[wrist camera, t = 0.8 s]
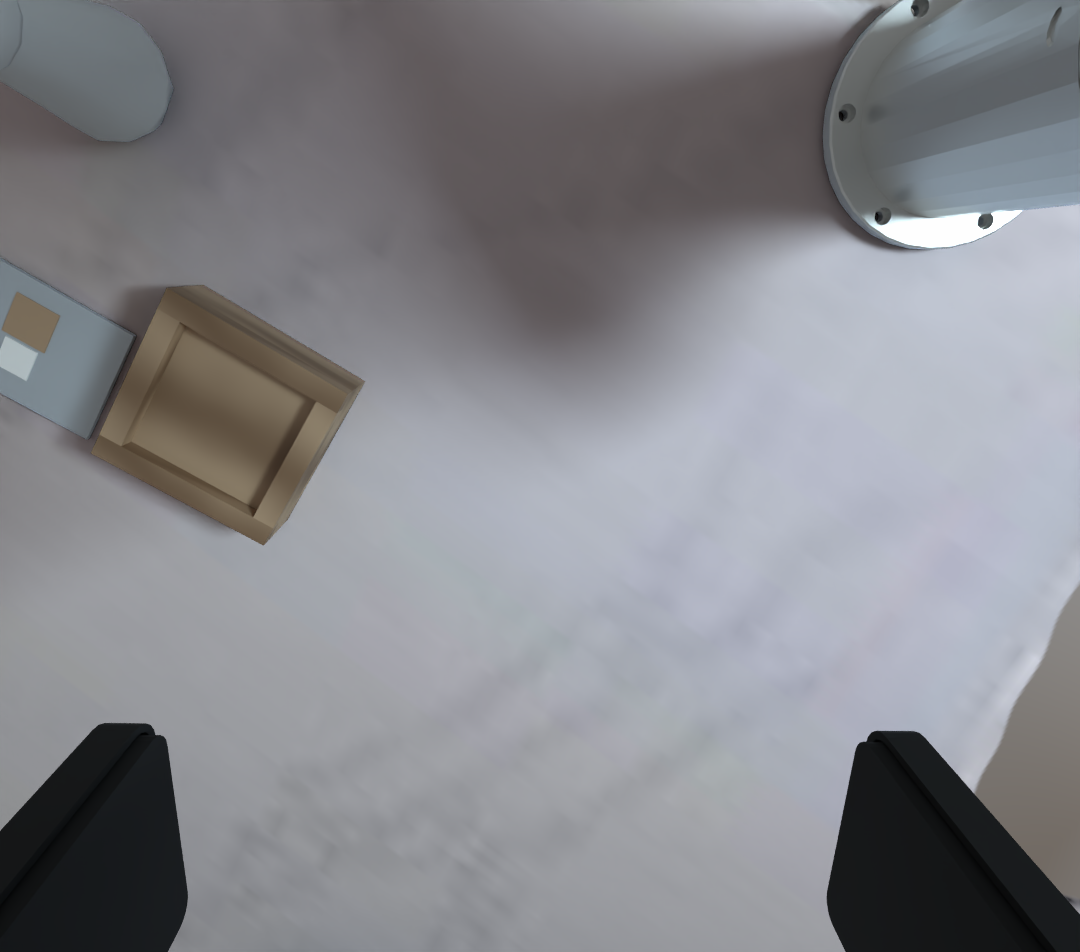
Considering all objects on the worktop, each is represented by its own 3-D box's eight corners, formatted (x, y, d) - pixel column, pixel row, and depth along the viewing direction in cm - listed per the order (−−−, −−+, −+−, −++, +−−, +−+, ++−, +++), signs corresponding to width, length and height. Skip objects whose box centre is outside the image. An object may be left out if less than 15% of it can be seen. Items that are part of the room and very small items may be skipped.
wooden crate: (203, 284, 38) (166, 287, 34) (365, 381, 40) (347, 394, 36) (132, 434, 40) (90, 453, 36) (287, 519, 42) (263, 545, 38)
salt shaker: (207, 62, 35) (28, -49, 22) (168, 171, 36) (-20, 124, 24) (93, -3, 34) (-160, -157, 21) (58, 111, 35) (-198, 30, 23)
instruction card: (-41, 234, 37) (-47, 234, 36) (136, 335, 39) (132, 336, 38) (-82, 346, 38) (-88, 347, 38) (89, 438, 40) (85, 440, 40)
